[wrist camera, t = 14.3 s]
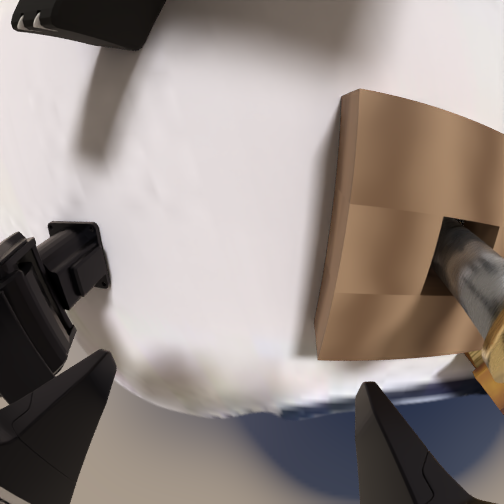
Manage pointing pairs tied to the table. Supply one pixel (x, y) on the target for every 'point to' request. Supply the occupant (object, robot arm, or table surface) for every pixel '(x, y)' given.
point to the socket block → (403, 228)
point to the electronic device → (90, 20)
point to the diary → (487, 379)
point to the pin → (474, 286)
